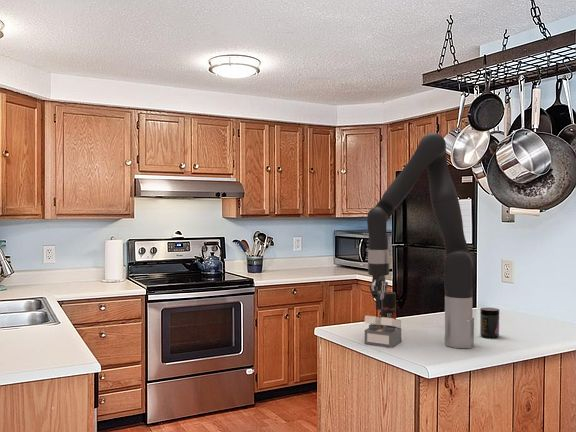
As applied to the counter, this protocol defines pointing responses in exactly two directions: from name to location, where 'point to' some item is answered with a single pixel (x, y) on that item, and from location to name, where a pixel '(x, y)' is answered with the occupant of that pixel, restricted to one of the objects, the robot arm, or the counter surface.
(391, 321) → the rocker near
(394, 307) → the deodorant
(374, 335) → the grey box
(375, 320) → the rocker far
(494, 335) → the supplement container
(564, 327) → the counter surface
